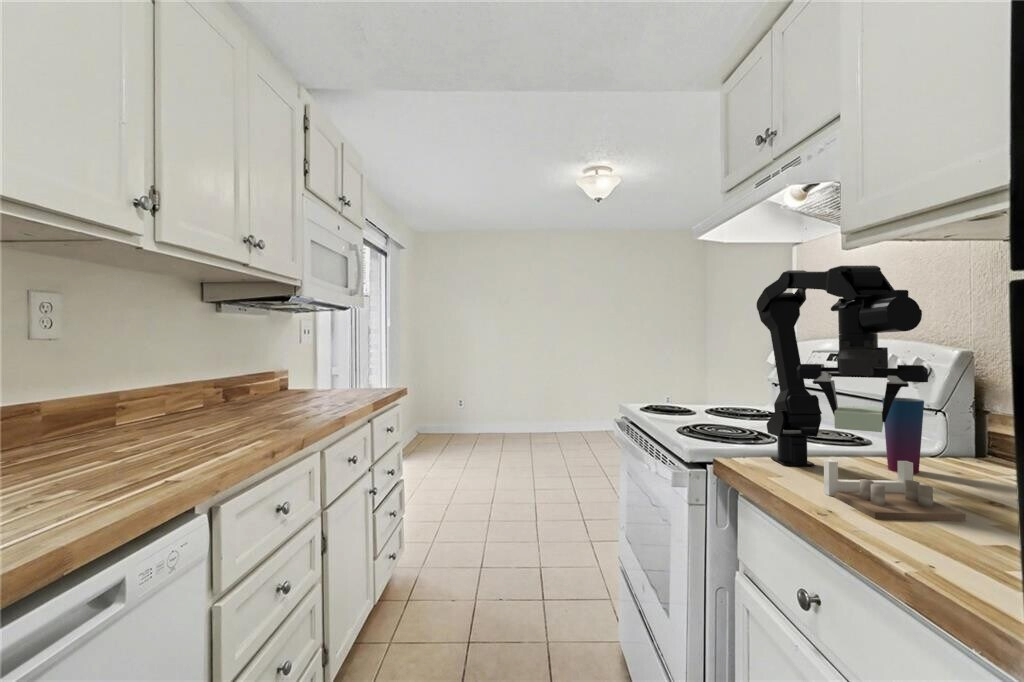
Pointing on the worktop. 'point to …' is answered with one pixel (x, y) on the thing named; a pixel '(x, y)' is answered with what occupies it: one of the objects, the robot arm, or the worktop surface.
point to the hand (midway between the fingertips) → (859, 420)
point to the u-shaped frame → (854, 485)
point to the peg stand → (899, 502)
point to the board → (859, 418)
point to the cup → (904, 432)
